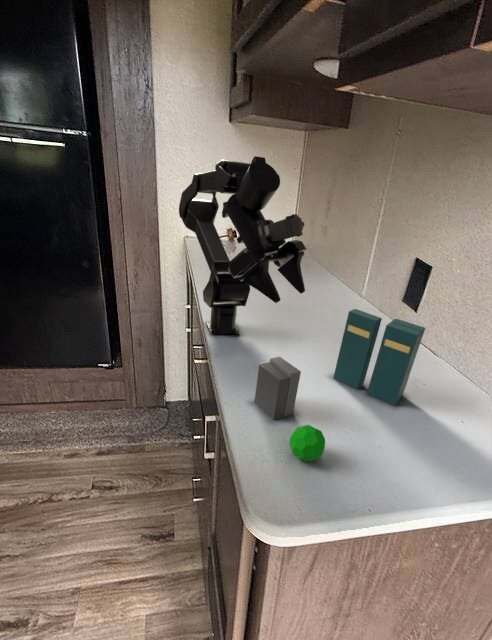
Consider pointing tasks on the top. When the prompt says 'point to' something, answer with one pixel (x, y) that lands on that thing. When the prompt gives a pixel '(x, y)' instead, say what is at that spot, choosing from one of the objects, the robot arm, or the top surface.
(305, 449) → the polyhedron
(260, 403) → the grey books
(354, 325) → the teal book
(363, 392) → the top surface
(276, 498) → the top surface
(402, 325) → the teal books
